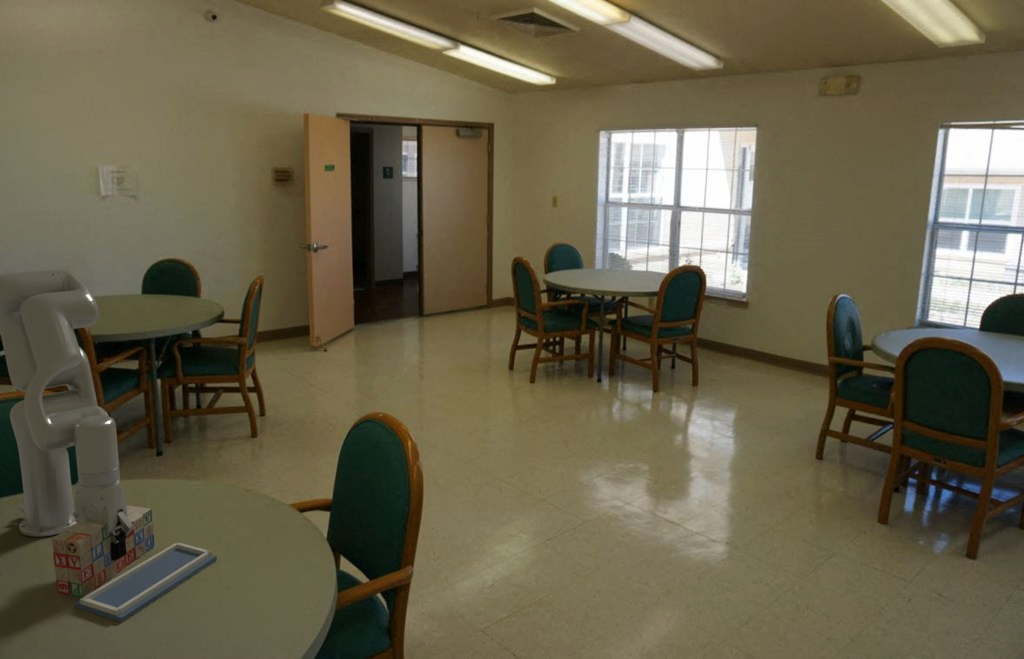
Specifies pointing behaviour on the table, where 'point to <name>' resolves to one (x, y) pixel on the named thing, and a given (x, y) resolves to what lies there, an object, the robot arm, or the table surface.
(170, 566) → the shallow rectangular tray
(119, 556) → the robot arm
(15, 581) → the table surface
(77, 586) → the stack of blocks
